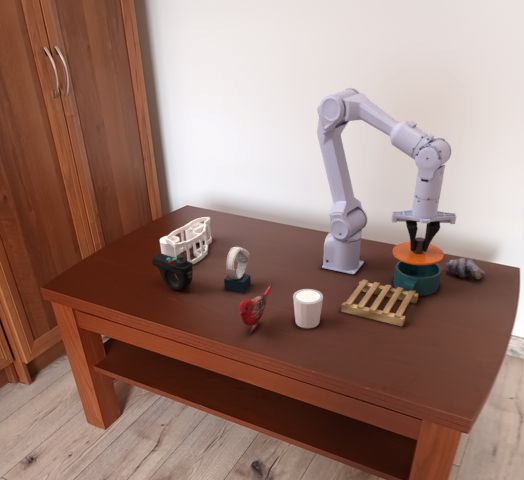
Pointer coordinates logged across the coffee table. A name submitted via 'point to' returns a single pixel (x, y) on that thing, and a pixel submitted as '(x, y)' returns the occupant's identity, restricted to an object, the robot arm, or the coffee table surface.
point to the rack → (382, 292)
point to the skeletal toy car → (188, 240)
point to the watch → (237, 278)
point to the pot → (417, 277)
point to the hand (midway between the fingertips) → (418, 249)
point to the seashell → (464, 268)
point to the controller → (174, 270)
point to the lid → (418, 253)
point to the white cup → (307, 307)
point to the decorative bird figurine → (253, 309)
